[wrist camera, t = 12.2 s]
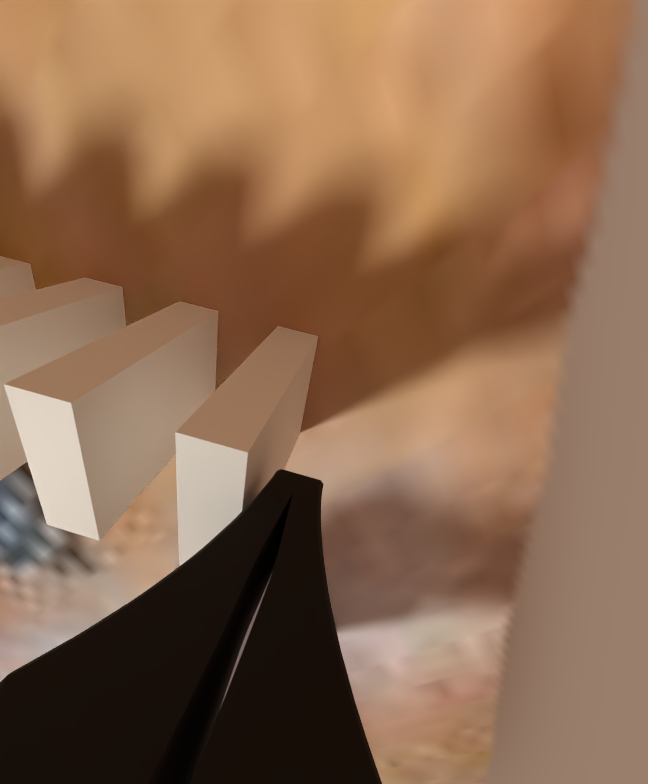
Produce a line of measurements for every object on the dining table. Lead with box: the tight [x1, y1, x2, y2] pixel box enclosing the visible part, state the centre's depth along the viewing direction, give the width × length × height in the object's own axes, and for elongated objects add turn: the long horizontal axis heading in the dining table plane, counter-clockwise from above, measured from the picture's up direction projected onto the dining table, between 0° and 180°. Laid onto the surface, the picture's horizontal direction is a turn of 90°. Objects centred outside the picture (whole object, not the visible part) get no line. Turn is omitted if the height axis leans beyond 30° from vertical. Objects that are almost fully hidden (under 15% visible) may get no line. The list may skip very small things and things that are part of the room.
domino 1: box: [0, 277, 126, 480], centre depth 14 cm, size 2×5×8 cm, turn 169°
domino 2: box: [4, 301, 218, 541], centre depth 13 cm, size 2×5×8 cm, turn 169°
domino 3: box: [175, 326, 319, 566], centre depth 13 cm, size 2×5×8 cm, turn 169°
